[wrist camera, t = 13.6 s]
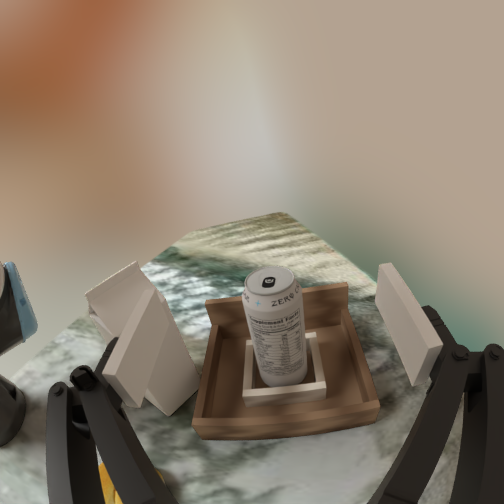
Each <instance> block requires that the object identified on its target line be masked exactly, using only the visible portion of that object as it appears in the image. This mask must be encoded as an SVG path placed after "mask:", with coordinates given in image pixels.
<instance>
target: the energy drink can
mask: <svg viewBox="0 0 504 504" xmlns="http://www.w3.org/2000/svg"><path fill="white" fill-rule="evenodd" d="M242 302H243V306H244V310H245V314H246V319H247V323H248V327H249V331H250V335H251V339H252V343H253V348H254V352H255V356H256V360H257V364H258V368H259V372H260V376H261V378H262V380H263V381H264V383H265V384H267V385H268V386H270V387H283V386H292V385H298V384H299V383H300V382H301V381H303V379H304V378H305V376H306V374H307V353H306V337H305V323H304V310H303V298H302V288H301V286H300V284H299V283H298V282H297V281H296V280H295V278H294V274H293V272H292V271H291V270H290V269H288V268H285V267H282V266H268V267H263V268H260V269H257V270H255V271H253V272H252V273H250V274H249V275H248V276H247V278H246V279H245V289H244V291H243V294H242Z"/></svg>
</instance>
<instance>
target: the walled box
mask: <svg viewBox="0 0 504 504" xmlns="http://www.w3.org/2000/svg"><path fill="white" fill-rule="evenodd" d="M302 298H303V310H304V323H305V337H306V353H307V374H306V376H305V378H304V379H303V381H301V382H300V383H299V384H298V385H292V386H283V387H270V386H268V385H267V384H265V383H264V381H263V380H262V378H261V376H260V372H259V368H258V364H257V360H256V356H255V352H254V348H253V343H252V339H251V335H250V331H249V327H248V323H247V319H246V314H245V310H244V306H243V302H242V296H239V297H230V298H221V299H211V300H206V302H205V306H206V309H207V312H208V315H209V318H210V321H211V324H212V327H211V332H210V336H209V341H208V346H207V350H206V355H205V360H204V365H203V370H202V374H201V379H200V384H199V389H198V394H197V399H196V404H195V410H194V415H193V420H192V426H193V428H194V429H195V431H196V432H197V433H198V435H199V436H200V437H201V438H202V440H263V439H278V438H289V437H299V436H307V435H315V434H322V433H328V432H334V431H340V430H345V429H350V428H355V427H360V426H365V425H369V424H373V423H375V421H376V418H377V415H378V413H379V410H380V407H381V406H380V403H379V399H378V396H377V393H376V390H375V386H374V383H373V380H372V377H371V374H370V371H369V368H368V364H367V361H366V358H365V355H364V353H363V350H362V347H361V344H360V341H359V338H358V335H357V332H356V330H355V327H354V324H353V321H352V319H351V316H350V313H349V311H348V284H347V282H343V283H337V284H330V285H324V286H317V287H310V288H303V289H302Z"/></svg>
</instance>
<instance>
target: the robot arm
mask: <svg viewBox="0 0 504 504" xmlns="http://www.w3.org/2000/svg"><path fill="white" fill-rule="evenodd" d="M375 303H376V305H377V308H378V310H379V312H380V314H381V316H382V318H383V320H384V322H385V324H386V327H387V329H388V331H389V333H390V335H391V337H392V340H393V342H394V344H395V347H396V349H397V351H398V353H399V356H400V358H401V360H402V363H403V365H404V368H405V370H406V372H407V375H408V377H409V380H410V382H411V385H412V387H414V386H417V385H420V384H424V383H426V381H427V379H428V377H429V376H430V378H431V380H432V383H431V385H430V387H429V389H428V390H427V392H426V394H427V395H426V398H425V400H424V402H423V405H422V407H421V409H420V412H419V414H418V416H417V418H416V420H415V423H414V425H413V427H412V429H411V431H410V433H409V435H408V437H407V439H406V441H405V443H404V445H403V447H402V448H401V450H400V452H399V454H398V456H397V458H396V459H395V461H394V463H393V465H392V466H391V468H390V470H389V471H388V473H387V474H386V476H385V478H384V479H383V481H382V482H381V484H380V486H379V487H378V489H377V490H376V492H375V493H374V494H373V496H372V497H371V499H370V500H369V502H368V503H367V504H418V500H419V498H420V497H421V495H422V493H423V491H424V489H425V487H426V485H427V483H428V482H429V480H430V478H431V476H432V474H433V471H434V469H435V467H436V465H437V463H438V461H439V458H440V456H441V454H442V451H443V449H444V447H445V444H446V442H447V439H448V437H449V434H450V431H451V428H452V426H453V423H454V420H455V417H456V414H457V411H458V408H459V404H460V401H461V398H462V394H463V392H464V414H463V428H462V438H461V446H460V453H459V460H458V466H457V471H456V476H455V481H454V486H453V490H452V495H451V499H450V502H449V504H504V349H503V348H502V347H501V346H499V345H497V344H489V345H487V346H486V348H485V349H484V351H483V352H470V351H469V350H468V349H467V348H466V347H465V346H463V345H459V344H457V343H456V341H455V340H454V338H453V336H452V335H451V333H450V332H449V330H448V328H447V327H446V325H444V322H443V321H442V319H441V318H440V316H439V315H438V313H437V311H436V310H434V309H433V308H432V307H430V306H429V305H428V306H424V307H420V305H419V303H418V302H417V300H416V299H415V297H414V296H413V294H412V293H411V291H410V290H409V288H408V287H407V285H406V284H405V282H404V281H403V279H402V278H401V276H400V275H399V273H398V272H397V271H396V269H395V268H394V266H393V265H392V264H391V263H387V264H379V272H378V281H377V290H376V298H375ZM168 326H169V321H168V319H167V316H166V314H165V311H164V309H163V306H162V304H161V301H160V299H159V296H158V294H157V291H156V289H150V290H144V292H143V294H142V296H141V298H140V299H139V301H138V303H137V305H136V307H135V309H134V310H133V312H132V314H131V316H130V318H129V320H128V322H127V324H126V326H125V327H124V329H123V331H122V333H121V335H120V337H114V338H113V339H112V340H111V341H110V342H109V344H108V346H107V348H106V350H105V352H104V353H103V355H102V357H101V359H100V361H99V363H98V365H97V367H96V369H95V371H94V372H93V371H92V370H91V368H90V367H89V366H87V365H82V366H79V367H77V368H76V369H74V370H73V372H72V373H71V375H70V381H71V382H72V384H73V385H74V386H75V387H68V386H67V385H66V384H65V383H64V382H57V383H55V384H54V385H53V386H52V387H51V388H50V390H49V393H48V405H47V420H46V470H47V485H48V495H49V504H106V503H105V499H104V494H103V489H102V484H101V479H100V473H99V467H98V460H97V453H96V446H97V449H98V451H99V454H100V456H101V459H102V461H103V463H104V466H105V468H106V470H107V472H108V475H109V477H110V479H111V481H112V483H113V485H114V487H115V489H116V491H117V493H118V495H119V497H120V499H121V501H122V503H123V504H178V502H177V501H176V500H175V498H174V497H173V495H172V494H171V492H170V491H169V490H168V488H167V487H166V485H165V484H164V482H163V480H162V479H161V477H160V476H159V474H158V473H157V471H156V469H155V468H154V466H153V464H152V463H151V461H150V459H149V458H148V456H147V454H146V453H145V451H144V449H143V447H142V445H141V444H140V442H139V440H138V438H137V436H136V434H135V432H134V430H133V428H132V426H131V424H130V422H129V420H128V418H127V416H126V414H125V412H124V410H123V408H122V407H121V403H122V401H123V402H124V403H125V404H126V405H127V406H128V407H134V408H140V407H141V404H142V401H143V398H144V395H145V392H146V389H147V386H148V383H149V380H150V377H151V374H152V371H153V368H154V365H155V362H156V359H157V356H158V354H159V351H160V348H161V345H162V342H163V340H164V337H165V334H166V331H167V329H168ZM37 328H38V324H37V320H36V317H35V314H34V312H33V309H32V307H31V304H30V302H29V299H28V297H27V294H26V291H25V289H24V286H23V284H22V281H21V279H20V276H19V273H18V271H17V268H16V266H15V264H14V263H13V262H8V263H7V262H6V263H4V265H2V263H1V262H0V356H1V355H3V354H5V353H6V352H8V351H9V350H11V349H13V348H14V347H16V346H17V345H19V344H21V343H24V342H25V341H26V339H28V338H29V337H30V336H32V335H33V334H34V333H35V332H36V331H37ZM25 408H26V403H25V398H24V395H23V394H22V392H21V391H20V390H19V389H18V388H17V387H16V385H15V384H13V383H12V382H11V381H9V380H8V379H6V378H5V377H3V376H2V375H0V446H2V445H4V444H6V443H7V442H8V441H10V440H11V439H12V438H13V437H14V435H15V434H16V433H17V431H18V430H19V428H20V426H21V424H22V421H23V418H24V415H25ZM95 443H96V445H95Z"/></svg>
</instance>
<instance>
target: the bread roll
mask: <svg viewBox="0 0 504 504" xmlns="http://www.w3.org/2000/svg"><path fill="white" fill-rule="evenodd" d="M156 471H157V473H158V474H159V476H160V477H161V479H162V480H163V482H164V479H163V477H162V475H161V473H160V472H159V471H158V470H157V469H156ZM99 473H100V479H101V484H102V489H103V494H104V499H105V503H106V504H123V503H122V501H121V499H120V497H119V495H118V493H117V491H116V489H115V487H114V485H113V483H112V481H111V479H110V477H109V475H108V472H107V470H106V468H105V466H104V463H103V462H102V463H101V464H100V466H99ZM164 484H165V482H164Z"/></svg>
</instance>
